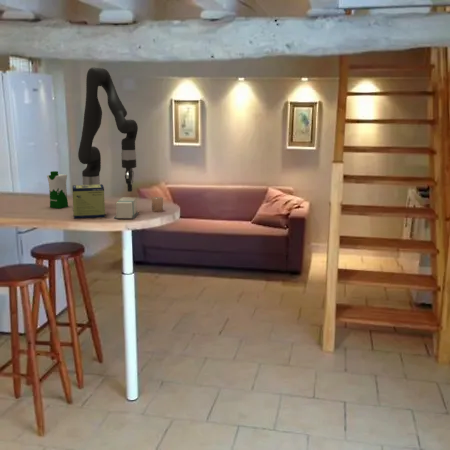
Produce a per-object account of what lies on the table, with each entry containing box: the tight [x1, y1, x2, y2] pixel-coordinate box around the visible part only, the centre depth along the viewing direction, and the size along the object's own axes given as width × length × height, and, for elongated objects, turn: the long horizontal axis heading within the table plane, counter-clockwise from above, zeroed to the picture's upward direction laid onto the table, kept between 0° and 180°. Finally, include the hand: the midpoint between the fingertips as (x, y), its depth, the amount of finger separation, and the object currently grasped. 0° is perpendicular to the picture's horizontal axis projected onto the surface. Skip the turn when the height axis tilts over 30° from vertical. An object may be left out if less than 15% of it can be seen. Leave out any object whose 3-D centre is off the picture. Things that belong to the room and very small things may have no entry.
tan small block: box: [151, 196, 164, 213], centre depth 286 cm, size 6×6×7 cm
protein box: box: [72, 183, 106, 220], centre depth 270 cm, size 10×16×16 cm
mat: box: [113, 211, 139, 220], centre depth 273 cm, size 10×14×1 cm
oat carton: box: [115, 197, 138, 218], centre depth 272 cm, size 8×8×17 cm
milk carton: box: [46, 170, 69, 209], centre depth 294 cm, size 9×9×20 cm
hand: (129, 191), depth 281 cm, fingers closed
